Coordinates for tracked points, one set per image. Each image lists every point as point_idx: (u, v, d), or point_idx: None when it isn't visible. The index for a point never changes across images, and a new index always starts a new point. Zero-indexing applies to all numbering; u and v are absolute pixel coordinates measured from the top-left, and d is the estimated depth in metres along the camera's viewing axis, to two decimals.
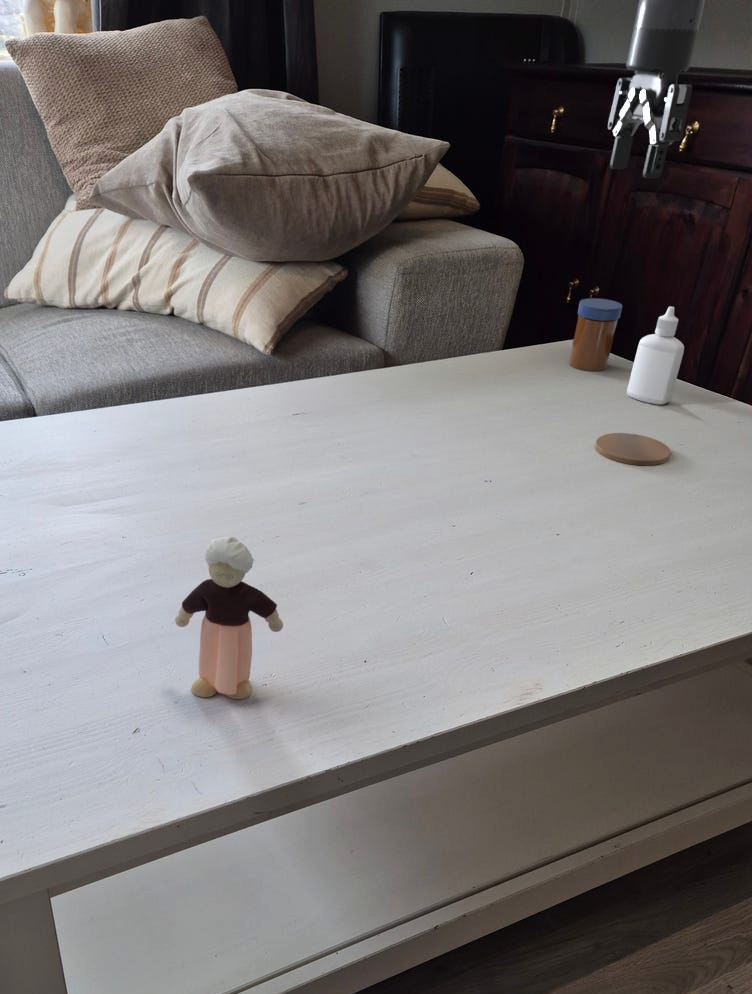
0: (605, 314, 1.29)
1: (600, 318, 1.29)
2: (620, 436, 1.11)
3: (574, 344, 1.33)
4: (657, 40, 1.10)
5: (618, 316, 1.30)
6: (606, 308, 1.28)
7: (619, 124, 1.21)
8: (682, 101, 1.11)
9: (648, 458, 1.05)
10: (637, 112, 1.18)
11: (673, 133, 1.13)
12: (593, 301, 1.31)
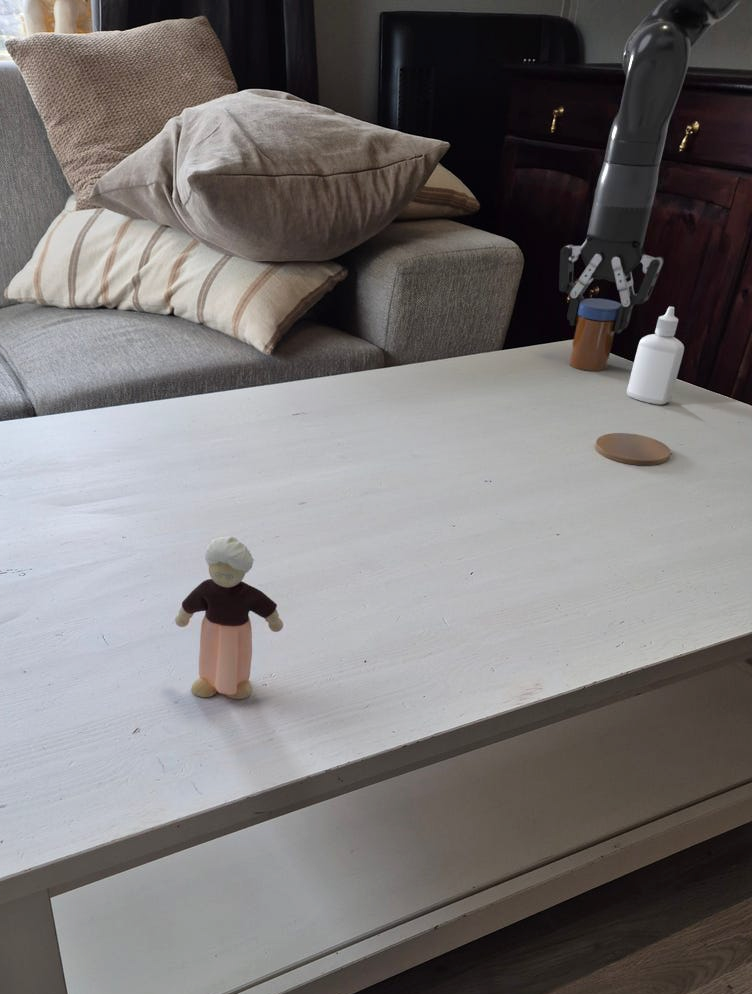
0: (605, 314, 1.29)
1: (600, 318, 1.29)
2: (620, 436, 1.11)
3: (574, 344, 1.33)
4: (636, 217, 1.21)
5: None
6: (606, 308, 1.28)
7: (578, 287, 1.30)
8: (657, 272, 1.25)
9: (648, 458, 1.05)
10: (601, 274, 1.28)
11: (646, 296, 1.27)
12: (593, 301, 1.31)
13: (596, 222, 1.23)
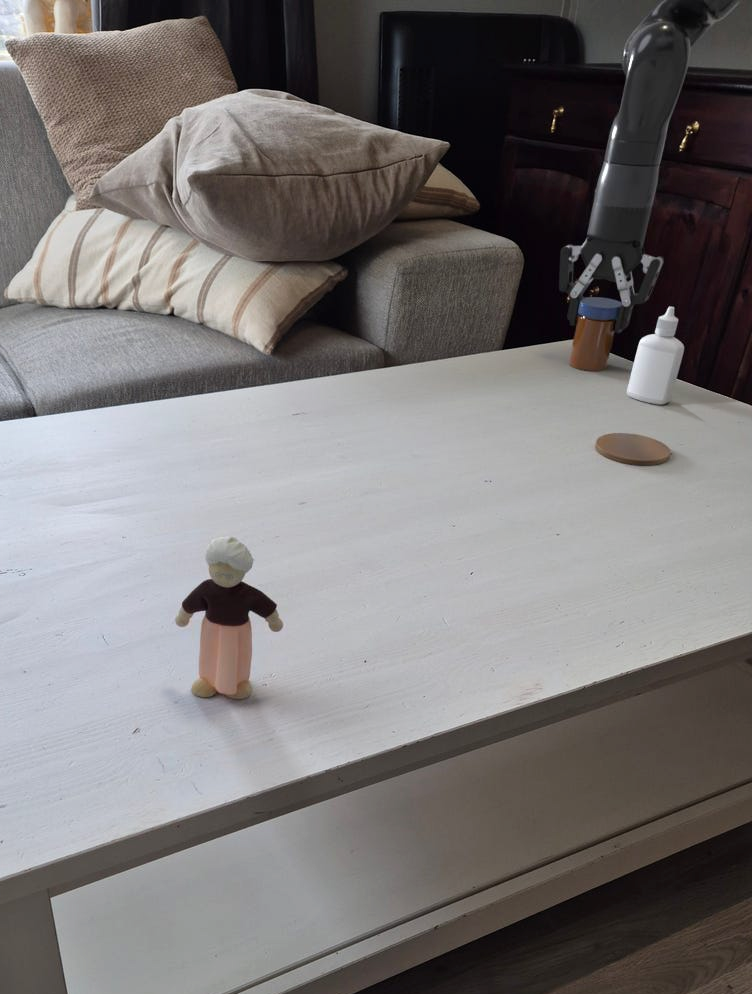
0: None
1: None
2: (620, 436, 1.11)
3: (574, 344, 1.33)
4: (636, 217, 1.21)
5: None
6: (619, 305, 1.29)
7: (579, 287, 1.30)
8: (658, 272, 1.25)
9: (648, 458, 1.05)
10: (601, 273, 1.28)
11: (647, 296, 1.27)
12: (592, 302, 1.30)
13: (596, 222, 1.23)
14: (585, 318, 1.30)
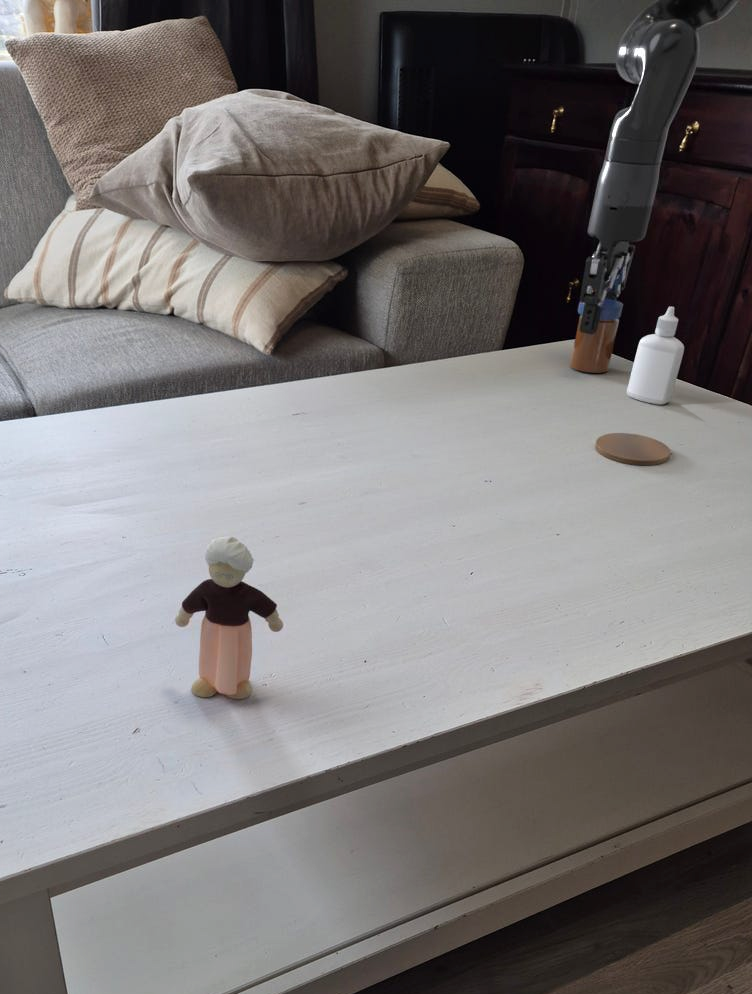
0: None
1: None
2: (620, 436, 1.11)
3: (578, 347, 1.32)
4: None
5: None
6: (605, 298, 1.31)
7: (604, 294, 1.26)
8: None
9: (648, 458, 1.05)
10: None
11: None
12: (605, 304, 1.28)
13: (637, 225, 1.21)
14: None
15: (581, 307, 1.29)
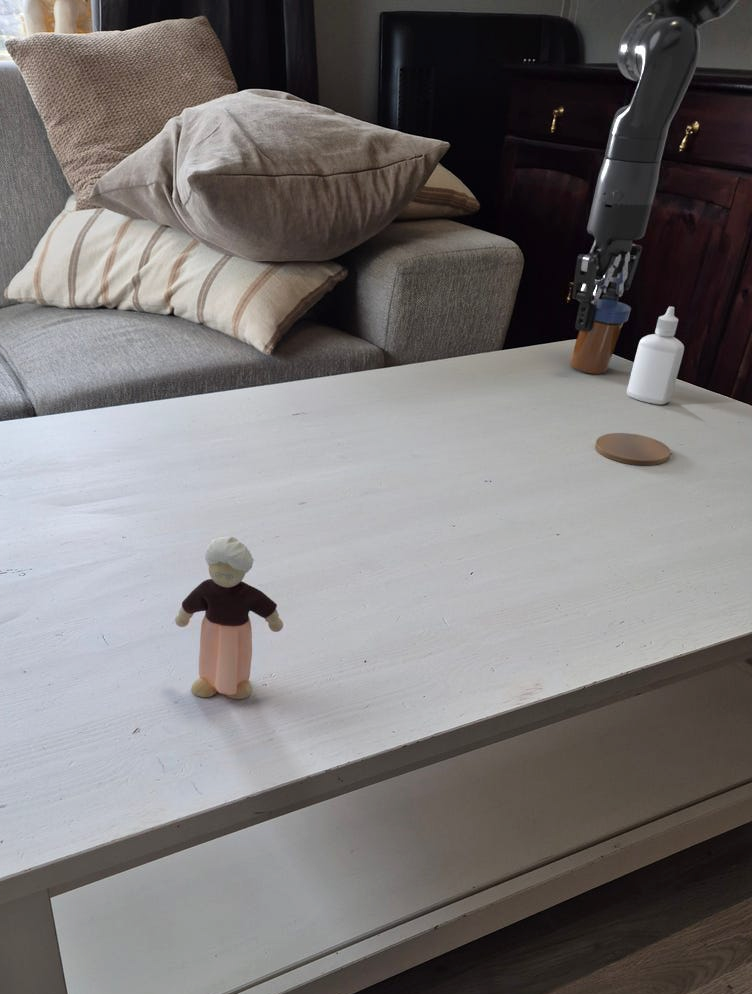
0: None
1: None
2: (620, 436, 1.11)
3: (581, 347, 1.31)
4: None
5: None
6: None
7: (599, 292, 1.26)
8: None
9: (648, 458, 1.05)
10: None
11: None
12: (619, 306, 1.28)
13: (632, 223, 1.20)
14: (597, 322, 1.28)
15: (612, 316, 1.27)
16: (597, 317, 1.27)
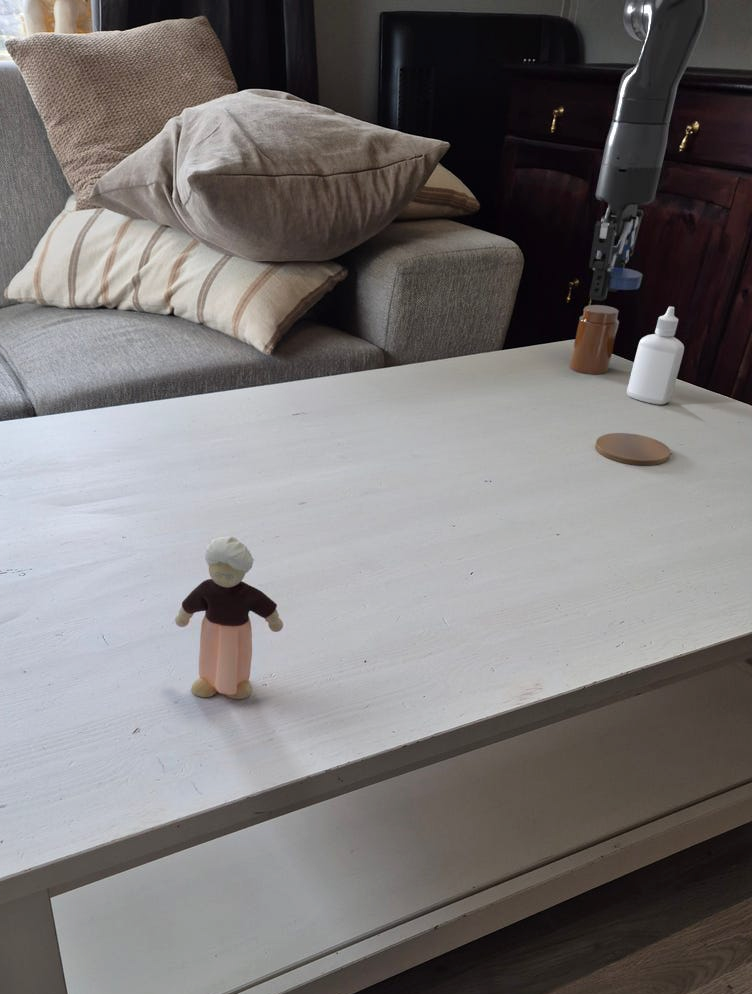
0: None
1: None
2: (620, 436, 1.11)
3: (579, 349, 1.31)
4: None
5: None
6: None
7: (614, 259, 1.24)
8: None
9: (648, 458, 1.05)
10: None
11: None
12: (630, 272, 1.27)
13: (647, 187, 1.19)
14: (592, 323, 1.29)
15: (628, 282, 1.25)
16: (612, 285, 1.26)
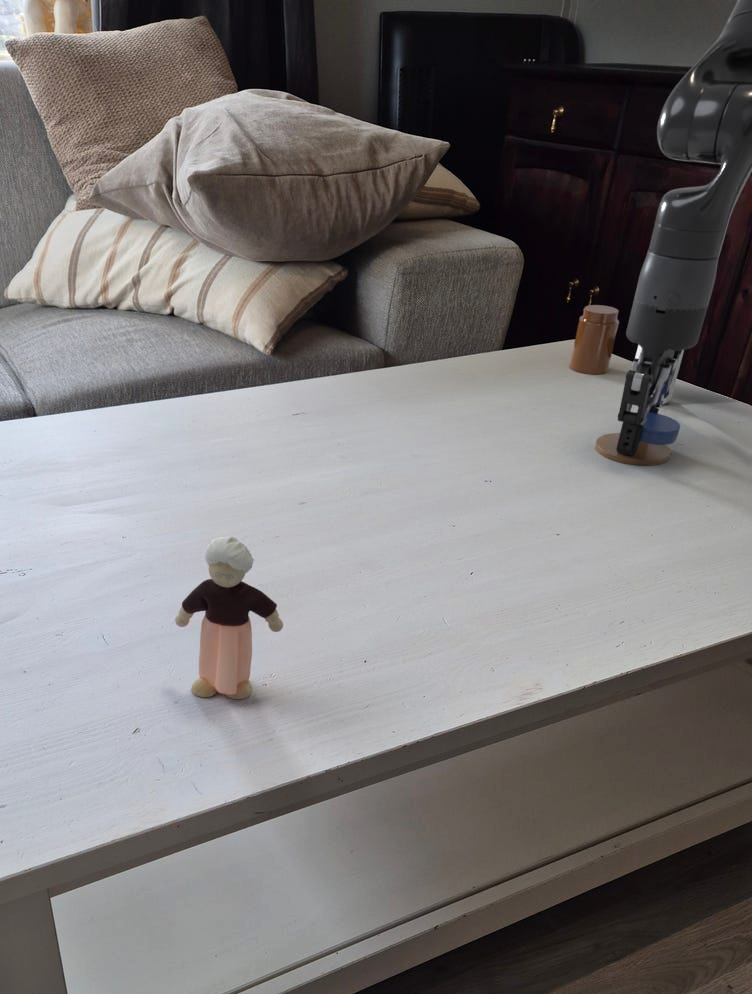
0: None
1: None
2: None
3: (579, 349, 1.31)
4: None
5: None
6: None
7: (648, 411, 1.03)
8: None
9: (648, 458, 1.05)
10: None
11: None
12: (665, 422, 1.06)
13: (690, 331, 0.97)
14: (592, 322, 1.29)
15: (663, 437, 1.04)
16: (644, 439, 1.04)
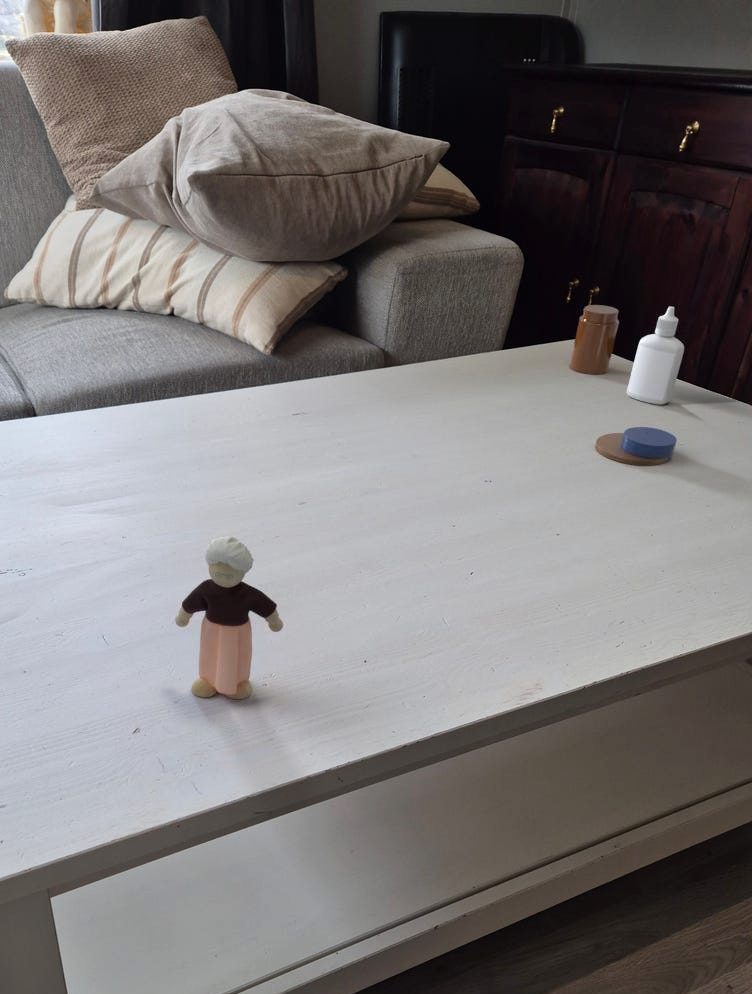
0: None
1: None
2: (620, 436, 1.11)
3: (579, 349, 1.31)
4: None
5: (625, 448, 1.07)
6: (628, 431, 1.08)
7: None
8: None
9: (648, 458, 1.05)
10: None
11: None
12: (661, 436, 1.07)
13: None
14: (592, 322, 1.29)
15: (660, 451, 1.05)
16: (641, 453, 1.05)
